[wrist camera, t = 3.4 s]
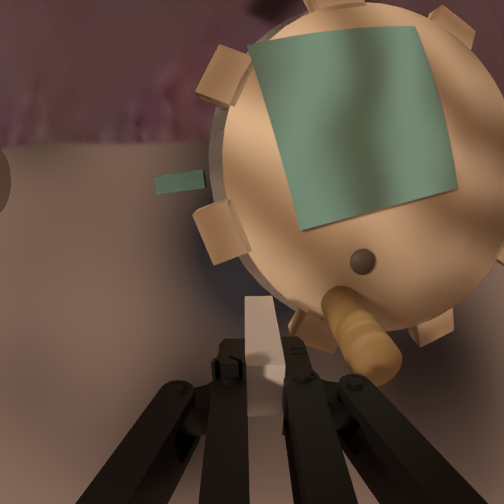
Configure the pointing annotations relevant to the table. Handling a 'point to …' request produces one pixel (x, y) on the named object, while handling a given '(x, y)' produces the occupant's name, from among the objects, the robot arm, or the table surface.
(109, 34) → the table surface
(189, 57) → the table surface
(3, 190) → the coffee cup
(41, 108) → the table surface
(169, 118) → the table surface
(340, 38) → the sprocket
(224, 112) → the sprocket base
